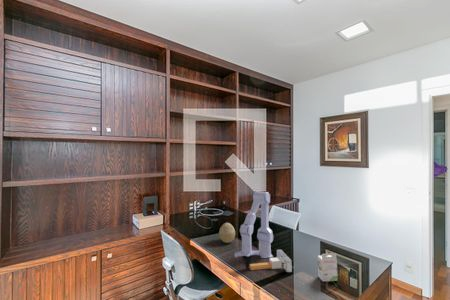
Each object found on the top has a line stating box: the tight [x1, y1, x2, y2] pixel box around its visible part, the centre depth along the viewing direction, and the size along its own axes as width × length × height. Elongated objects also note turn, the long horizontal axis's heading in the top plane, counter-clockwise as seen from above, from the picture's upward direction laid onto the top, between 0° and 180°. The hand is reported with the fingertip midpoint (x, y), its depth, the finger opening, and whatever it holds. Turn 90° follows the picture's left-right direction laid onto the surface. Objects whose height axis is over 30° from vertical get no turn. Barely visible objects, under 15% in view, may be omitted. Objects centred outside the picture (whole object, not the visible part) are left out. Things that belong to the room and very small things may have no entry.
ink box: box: [317, 252, 339, 282], centre depth 115 cm, size 9×5×15 cm, turn 92°
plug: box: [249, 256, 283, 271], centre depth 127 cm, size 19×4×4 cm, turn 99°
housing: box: [276, 249, 293, 273], centre depth 129 cm, size 14×3×7 cm, turn 9°
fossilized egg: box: [218, 222, 236, 244], centre depth 165 cm, size 13×13×15 cm
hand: (247, 267), depth 125 cm, fingers closed
